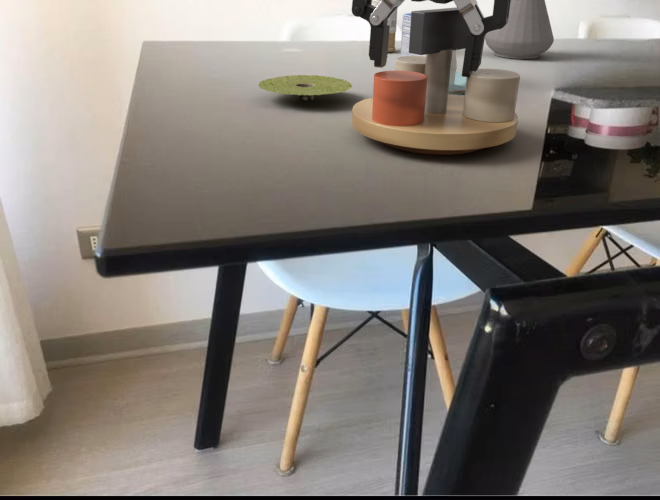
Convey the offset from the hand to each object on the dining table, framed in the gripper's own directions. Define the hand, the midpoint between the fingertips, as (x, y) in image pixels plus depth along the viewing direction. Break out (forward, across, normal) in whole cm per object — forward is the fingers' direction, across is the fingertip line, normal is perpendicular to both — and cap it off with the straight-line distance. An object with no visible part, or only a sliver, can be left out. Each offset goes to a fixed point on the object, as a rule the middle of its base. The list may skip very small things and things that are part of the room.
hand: (422, 70), depth 60 cm
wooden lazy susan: (+5, -2, 0) cm, 5 cm away
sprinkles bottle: (+7, +17, -50) cm, 54 cm away
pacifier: (+6, -1, -20) cm, 21 cm away
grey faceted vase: (+6, -10, -56) cm, 57 cm away
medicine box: (+6, +5, -28) cm, 29 cm away
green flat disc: (+7, +16, -11) cm, 20 cm away
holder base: (+6, -2, 0) cm, 7 cm away
